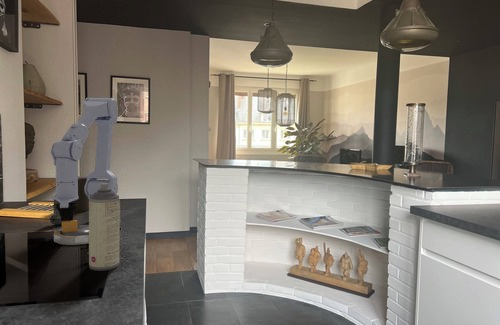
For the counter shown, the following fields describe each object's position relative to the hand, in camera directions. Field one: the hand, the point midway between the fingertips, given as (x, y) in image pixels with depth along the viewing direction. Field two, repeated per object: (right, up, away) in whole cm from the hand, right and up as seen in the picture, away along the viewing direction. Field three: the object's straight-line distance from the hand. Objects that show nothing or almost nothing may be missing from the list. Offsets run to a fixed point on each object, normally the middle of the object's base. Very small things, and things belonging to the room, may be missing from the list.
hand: (67, 227), depth 105 cm
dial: (+4, -3, 0) cm, 5 cm away
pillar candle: (-17, -1, +42) cm, 46 cm away
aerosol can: (+19, -6, -19) cm, 27 cm away
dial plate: (+4, -4, 0) cm, 6 cm away
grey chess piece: (-11, -3, +15) cm, 19 cm away
